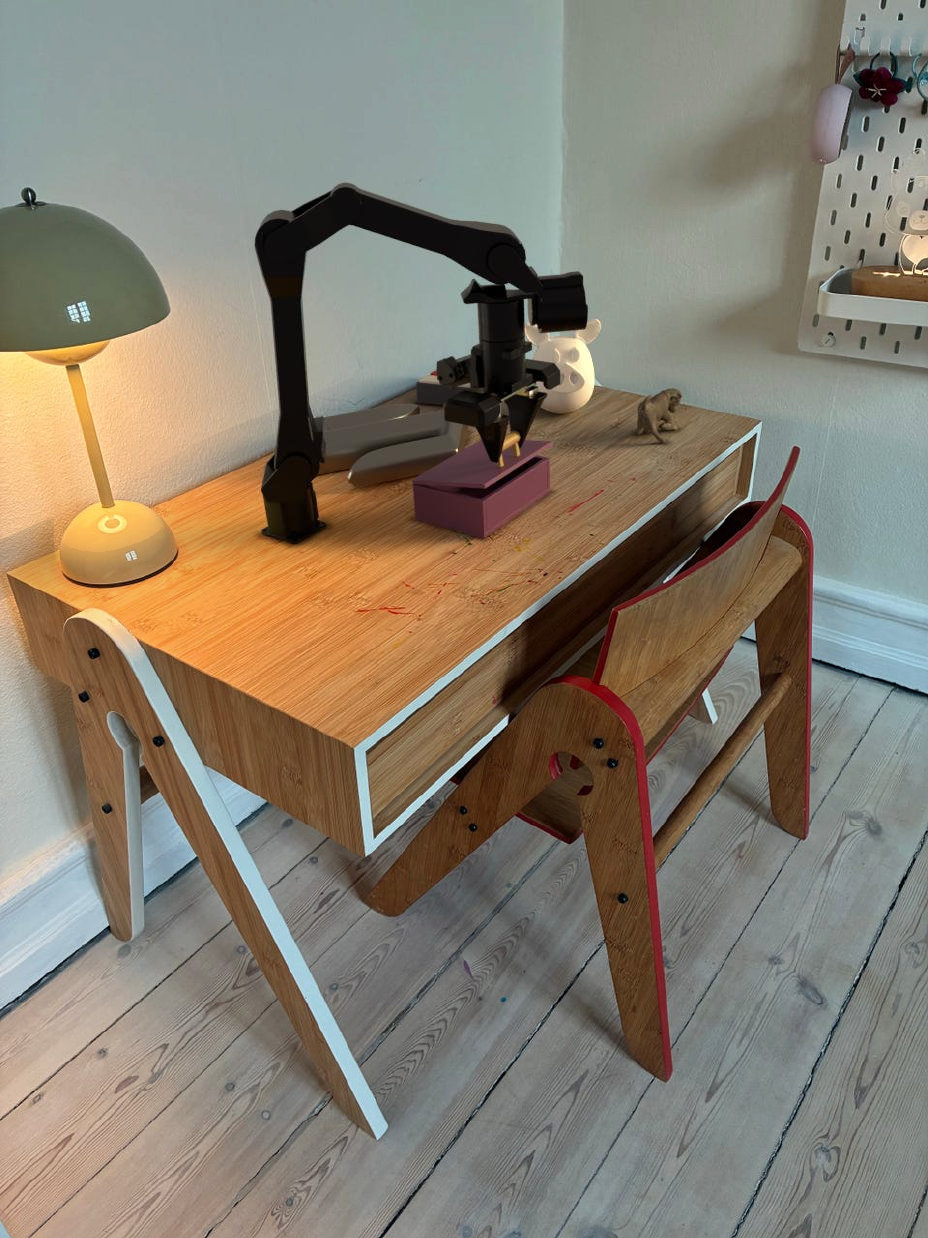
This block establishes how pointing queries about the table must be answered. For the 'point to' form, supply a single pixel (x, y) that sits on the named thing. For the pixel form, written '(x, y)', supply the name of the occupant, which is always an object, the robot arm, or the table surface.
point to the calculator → (438, 390)
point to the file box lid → (482, 464)
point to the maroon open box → (483, 500)
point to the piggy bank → (566, 366)
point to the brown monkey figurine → (658, 412)
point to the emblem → (389, 443)
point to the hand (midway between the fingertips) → (506, 454)
